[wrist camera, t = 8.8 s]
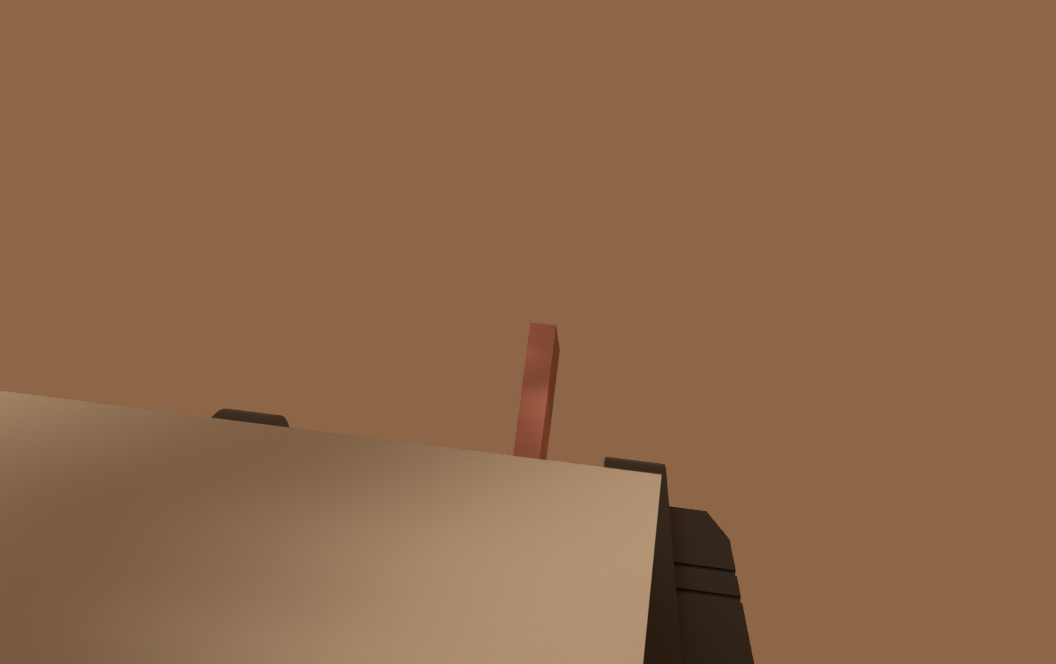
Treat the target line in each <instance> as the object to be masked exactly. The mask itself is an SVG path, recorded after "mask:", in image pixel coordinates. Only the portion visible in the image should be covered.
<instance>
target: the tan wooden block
mask: <svg viewBox="0 0 1056 664" xmlns="http://www.w3.org/2000/svg"><path fill="white" fill-rule="evenodd" d="M559 351H560V349H559V342H558V336H557V329H556V326H555V325H547V324H538V323H530V330H529V337H528V345H527V353H526V361H525V369H524V377H523V384H522V392H521V400H520V407H519V415H518V423H517V431H516V439H515V447H514V455H513V456H510V455H502V454H494V453H486V452H478V451H471V450H463V449H454V448H447V447H438V446H431V445H423V444H415V443H407V442H399V441H392V440H384V439H376V438H367V437H360V436H352V435H344V434H336V433H328V432H320V431H313V430H304V429H297V428H289V427H281V426H273V425H265V424H257V423H249V422H241V421H233V420H226V419H218V418H210V417H202V416H194V415H186V414H178V413H170V412H162V411H154V410H147V409H138V408H131V407H123V406H114V405H107V404H99V403H91V402H83V401H75V400H68V399H60V398H52V397H44V396H36V395H28V394H20V393H12V392H4V391H0V664H643V660H644V649H645V639H646V629H647V619H648V608H649V598H650V588H651V578H652V567H653V557H654V547H655V537H656V526H657V516H658V506H659V496H660V485H661V475H660V474H652V473H644V472H637V471H629V470H621V469H613V468H605V467H597V466H589V465H581V464H573V463H565V462H558V461H550V460H546V457H547V450H548V442H549V434H550V426H551V425H550V424H551V417H552V408H553V400H554V392H555V384H556V375H557V367H558V359H559Z"/></svg>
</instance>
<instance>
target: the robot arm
mask: <svg viewBox="0 0 1056 664" xmlns="http://www.w3.org/2000/svg"><path fill="white" fill-rule="evenodd" d="M211 418H218V419H226V420H233V421H241V422H249V423H257V424H265V425H273V426H281V427H289V425H288V422H287V420H286V419H285V418H284V417H283V416H281V415H273V414H265V413H257V412H249V411H241V410H233V409H222V410H219V411H218V412H217V413H216V414H215V415H214V416H213V417H211ZM603 467H605V468H613V469H621V470H629V471H637V472H644V473H652V474H660V475H661V485H660V496H659V506H658V516H657V526H656V537H655V547H654V557H653V567H652V578H651V588H650V598H649V608H648V619H647V629H646V639H645V649H644V660H643V664H754V661H753V656H752V651H751V646H750V641H749V636H748V631H747V626H746V621H745V616H744V611H743V606H742V603H740V597H741V596H740V590H739V586H738V580H737V576H735V565H734V560H733V555H732V550H731V545H730V540H729V539H728V537H727V536H726V535H725V533H724V532H723V531H722V530H721V529H720V527H719V526H718V525H717V524H716V523H715V521H714V520H713V519H712V518H711V516H710V515H709V514H708V513H707V512H706V511H700V510H693V509H685V508H677V507H670V506H669V501H668V489H667V478H666V467H665V464H659V463H651V462H643V461H635V460H627V459H618V458H611V457H605V460H604V466H603Z"/></svg>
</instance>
